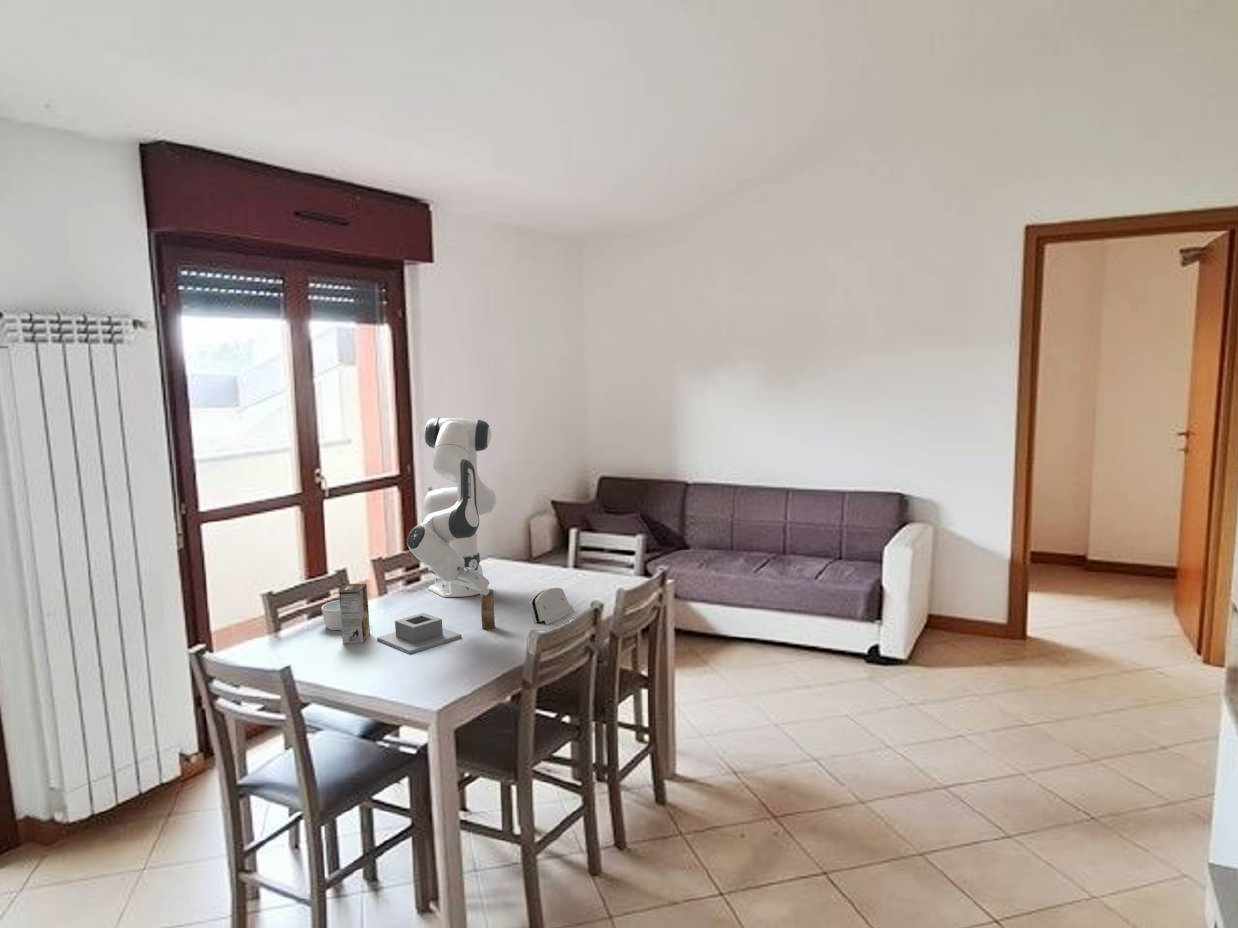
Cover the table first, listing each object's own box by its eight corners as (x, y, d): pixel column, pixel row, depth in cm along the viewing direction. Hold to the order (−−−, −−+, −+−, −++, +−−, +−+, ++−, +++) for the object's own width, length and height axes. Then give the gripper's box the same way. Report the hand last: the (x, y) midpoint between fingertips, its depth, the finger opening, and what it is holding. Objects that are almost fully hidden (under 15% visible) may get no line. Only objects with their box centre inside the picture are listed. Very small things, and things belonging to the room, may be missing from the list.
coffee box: (349, 634, 246) (346, 583, 244) (370, 632, 246) (367, 582, 244) (341, 644, 237) (338, 591, 235) (363, 642, 237) (360, 590, 235)
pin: (479, 628, 248) (477, 591, 247) (489, 624, 251) (488, 588, 250) (487, 630, 245) (485, 593, 244) (497, 627, 248) (495, 590, 247)
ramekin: (374, 622, 257) (373, 601, 256) (343, 634, 246) (342, 612, 245) (345, 617, 263) (344, 596, 262) (313, 628, 252) (312, 607, 251)
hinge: (546, 624, 249) (536, 594, 250) (535, 627, 252) (525, 598, 252) (574, 610, 264) (564, 581, 265) (563, 613, 266) (554, 585, 267)
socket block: (377, 640, 239) (376, 621, 238) (428, 625, 252) (427, 607, 251) (409, 654, 226) (408, 633, 226) (461, 637, 240) (460, 618, 239)
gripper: (476, 562, 230) (504, 587, 238) (436, 552, 244) (463, 576, 252) (464, 580, 228) (492, 605, 236) (424, 569, 241) (452, 593, 250)
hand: (477, 590), depth 244 cm, fingers open, 8 cm apart
